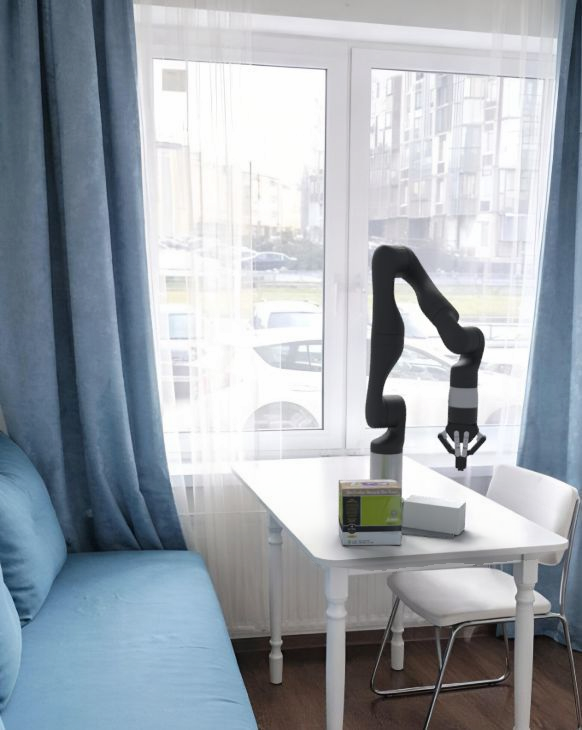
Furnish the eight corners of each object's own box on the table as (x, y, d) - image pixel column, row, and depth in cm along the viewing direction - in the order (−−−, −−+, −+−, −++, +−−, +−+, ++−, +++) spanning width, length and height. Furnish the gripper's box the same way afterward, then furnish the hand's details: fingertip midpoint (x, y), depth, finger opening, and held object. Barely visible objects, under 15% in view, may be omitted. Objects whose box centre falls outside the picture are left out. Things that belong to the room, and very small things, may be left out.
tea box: (395, 533, 215) (396, 478, 213) (401, 546, 205) (403, 487, 203) (337, 533, 214) (338, 478, 213) (341, 546, 204) (342, 487, 203)
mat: (385, 520, 227) (385, 519, 226) (455, 526, 222) (455, 525, 221) (378, 532, 216) (378, 530, 216) (452, 538, 211) (452, 537, 211)
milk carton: (458, 535, 213) (388, 524, 221) (465, 527, 219) (397, 518, 228) (459, 508, 212) (389, 498, 220) (466, 501, 218) (397, 492, 227)
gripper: (489, 403, 214) (487, 469, 216) (438, 400, 218) (436, 465, 220) (488, 407, 207) (486, 475, 209) (435, 405, 210) (433, 471, 212)
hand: (460, 470), depth 214 cm, fingers closed
